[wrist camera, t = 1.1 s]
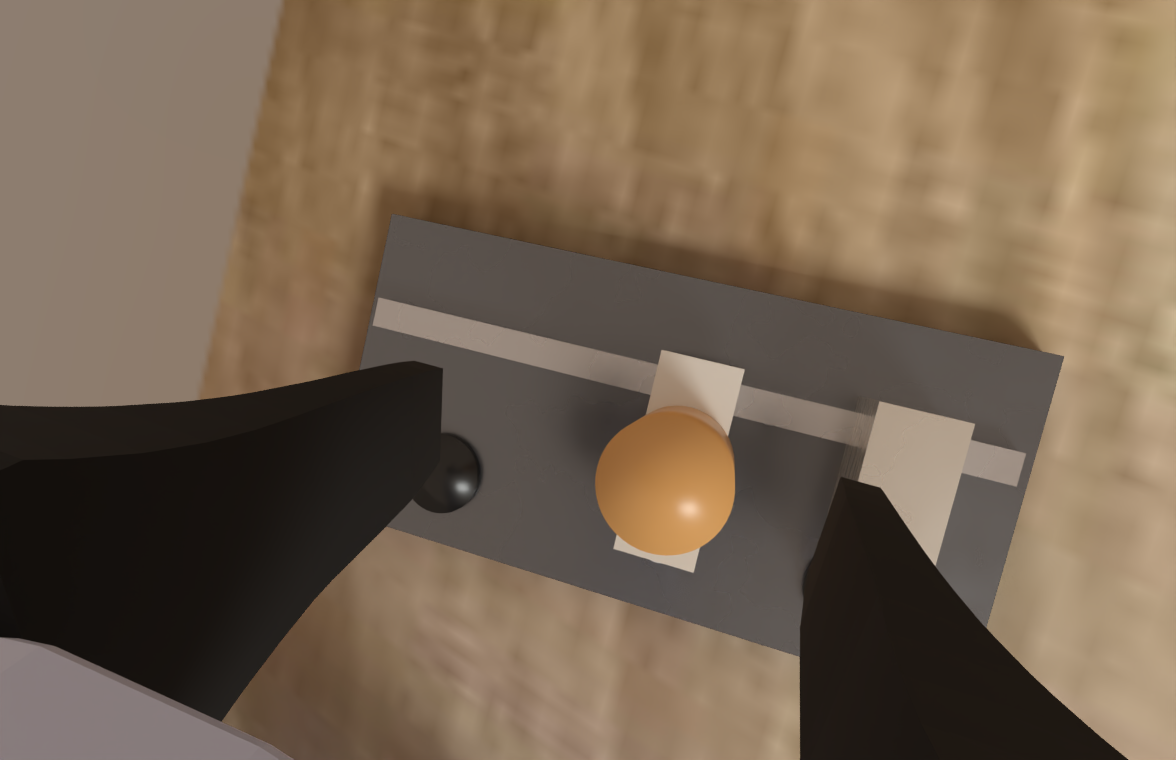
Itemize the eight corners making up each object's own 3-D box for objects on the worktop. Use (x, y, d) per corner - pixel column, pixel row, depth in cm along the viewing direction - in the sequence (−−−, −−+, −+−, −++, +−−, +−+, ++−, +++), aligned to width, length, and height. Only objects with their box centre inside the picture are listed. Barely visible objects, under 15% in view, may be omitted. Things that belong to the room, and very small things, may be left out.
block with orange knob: (705, 573, 21) (694, 656, 15) (609, 544, 22) (561, 613, 16) (756, 371, 21) (766, 375, 15) (656, 348, 22) (626, 342, 16)
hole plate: (950, 689, 22) (1001, 765, 18) (348, 501, 26) (276, 527, 22) (1045, 356, 21) (1122, 355, 17) (407, 220, 25) (344, 192, 21)
